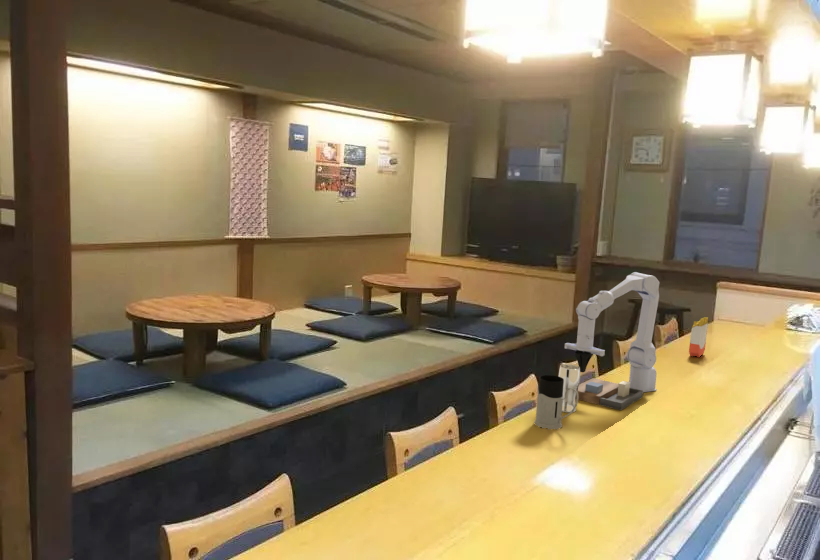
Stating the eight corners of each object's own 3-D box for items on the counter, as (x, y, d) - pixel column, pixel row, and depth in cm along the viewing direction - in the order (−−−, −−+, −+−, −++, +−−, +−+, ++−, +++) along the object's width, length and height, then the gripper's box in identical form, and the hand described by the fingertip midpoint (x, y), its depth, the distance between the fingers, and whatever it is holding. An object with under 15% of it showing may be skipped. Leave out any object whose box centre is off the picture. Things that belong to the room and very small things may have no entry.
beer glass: (577, 414, 227) (581, 370, 225) (556, 412, 228) (559, 368, 226) (576, 407, 234) (580, 365, 232) (555, 405, 235) (559, 363, 233)
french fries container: (687, 356, 312) (691, 318, 310) (694, 352, 321) (698, 314, 318) (697, 358, 310) (702, 319, 307) (704, 354, 318) (708, 316, 316)
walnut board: (568, 397, 245) (569, 389, 245) (592, 385, 260) (593, 377, 260) (599, 404, 238) (599, 396, 237) (621, 392, 253) (622, 384, 253)
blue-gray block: (585, 390, 243) (585, 384, 243) (590, 388, 247) (591, 381, 246) (597, 393, 240) (597, 386, 240) (602, 391, 244) (603, 384, 244)
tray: (599, 404, 238) (600, 398, 237) (622, 392, 253) (622, 386, 253) (621, 410, 233) (621, 403, 233) (642, 397, 248) (643, 390, 248)
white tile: (618, 383, 246) (625, 384, 244) (623, 380, 249) (630, 382, 247) (617, 395, 246) (624, 397, 245) (622, 392, 250) (628, 394, 248)
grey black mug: (544, 417, 222) (547, 372, 220) (582, 430, 212) (586, 383, 210) (528, 423, 216) (531, 377, 214) (567, 436, 206) (571, 388, 204)
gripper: (562, 332, 247) (558, 369, 249) (600, 340, 238) (596, 378, 240) (570, 330, 252) (567, 365, 254) (608, 337, 243) (604, 374, 245)
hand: (582, 371), depth 247 cm, fingers closed
